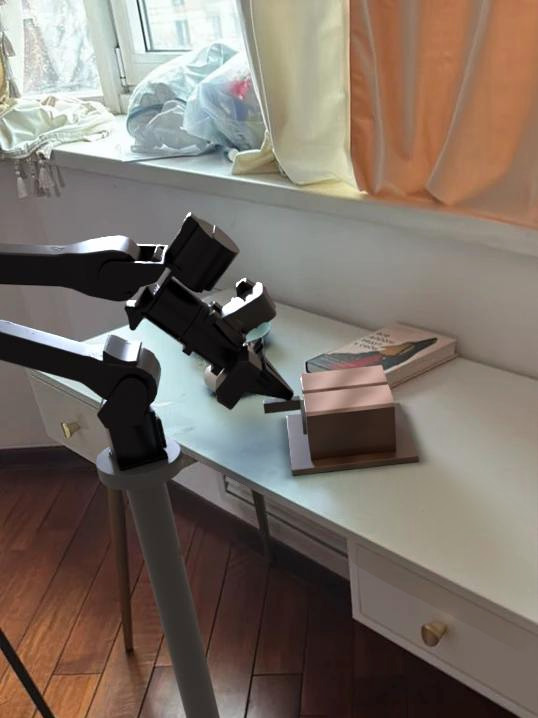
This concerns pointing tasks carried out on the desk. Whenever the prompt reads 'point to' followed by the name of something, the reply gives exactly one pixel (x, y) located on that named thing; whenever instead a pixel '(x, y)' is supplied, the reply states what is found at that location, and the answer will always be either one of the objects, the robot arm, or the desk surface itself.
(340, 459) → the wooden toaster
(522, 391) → the desk surface
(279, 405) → the knife
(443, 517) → the desk surface
